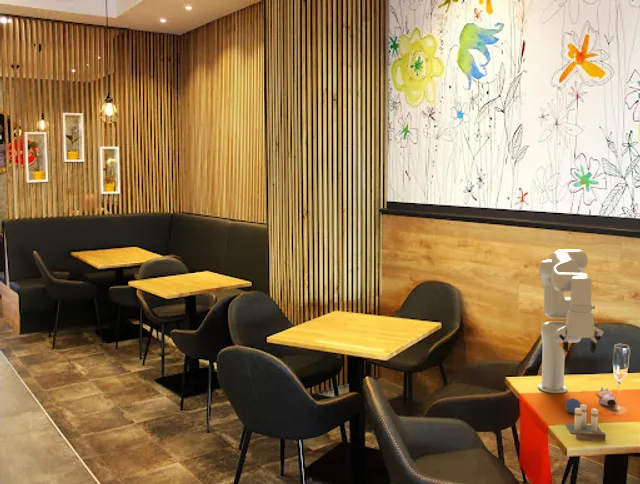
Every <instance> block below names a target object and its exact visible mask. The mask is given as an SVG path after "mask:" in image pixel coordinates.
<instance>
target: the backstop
mask: <svg viewBox="0 0 640 484" xmlns="http://www.w3.org/2000/svg"><path fill="white" fill-rule="evenodd" d="M606 434H607V433H605V432H604V431H602V432H587V431H576V434H575V438H576V440H578V441H579V440H580V441H600V442H603V441H604V442H605V441H606V437H607V436H606Z"/></svg>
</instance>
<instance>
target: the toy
mask: <svg viewBox="0 0 640 484" xmlns="http://www.w3.org/2000/svg"><path fill="white" fill-rule="evenodd" d="M595 396H596V397H597V398H598V403H599V404H601V406H606V407H613V406H615V405H616V399H617V396H616V395H615V396H614V395H613V393H612V391H610V390H609V388H607V387H606V388H605V389H604V387H602V386H601V388H600V392H599V393H598V392H595Z"/></svg>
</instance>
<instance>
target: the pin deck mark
mask: <svg viewBox="0 0 640 484" xmlns="http://www.w3.org/2000/svg"><path fill="white" fill-rule="evenodd" d="M564 425H565V426H566V429H567V430H568V431H569V433H570V434H571V435H576V432H575V431H574V423H565V424H564ZM581 431H587V432H591V424H586V428H581ZM597 432H603V431H602V430H601V429H600V427H599V426H598V428H597Z"/></svg>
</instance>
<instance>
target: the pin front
mask: <svg viewBox="0 0 640 484" xmlns="http://www.w3.org/2000/svg"><path fill="white" fill-rule="evenodd" d="M580 404H581V403H580ZM580 409H582V416H581V428H586V425H587V417H588V416H587V412H588V405H587V404H581V405H580Z"/></svg>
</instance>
